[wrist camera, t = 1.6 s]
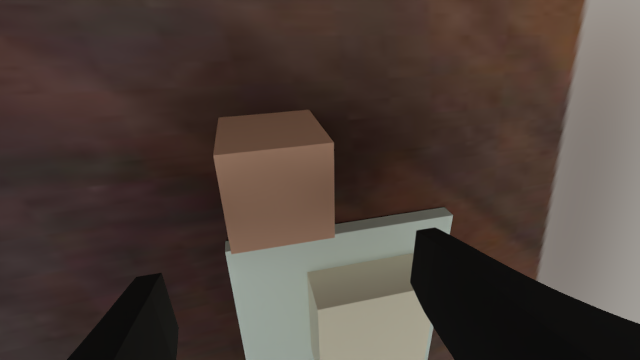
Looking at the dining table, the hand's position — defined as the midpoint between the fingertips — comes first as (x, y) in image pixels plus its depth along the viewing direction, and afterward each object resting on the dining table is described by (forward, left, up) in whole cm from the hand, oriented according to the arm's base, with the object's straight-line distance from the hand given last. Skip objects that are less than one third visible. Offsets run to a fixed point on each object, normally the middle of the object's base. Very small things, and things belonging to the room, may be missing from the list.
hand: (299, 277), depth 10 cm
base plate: (-12, -4, -9) cm, 16 cm away
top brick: (0, 0, -10) cm, 10 cm away
